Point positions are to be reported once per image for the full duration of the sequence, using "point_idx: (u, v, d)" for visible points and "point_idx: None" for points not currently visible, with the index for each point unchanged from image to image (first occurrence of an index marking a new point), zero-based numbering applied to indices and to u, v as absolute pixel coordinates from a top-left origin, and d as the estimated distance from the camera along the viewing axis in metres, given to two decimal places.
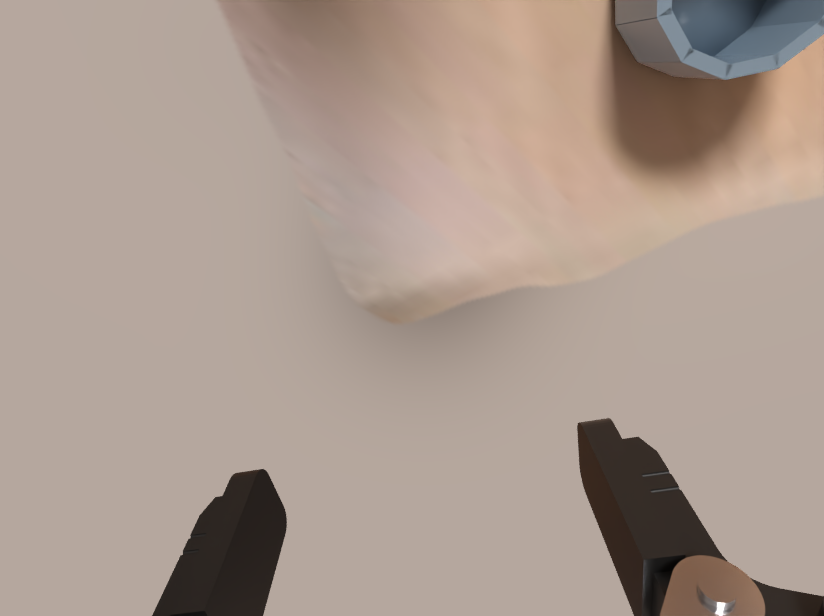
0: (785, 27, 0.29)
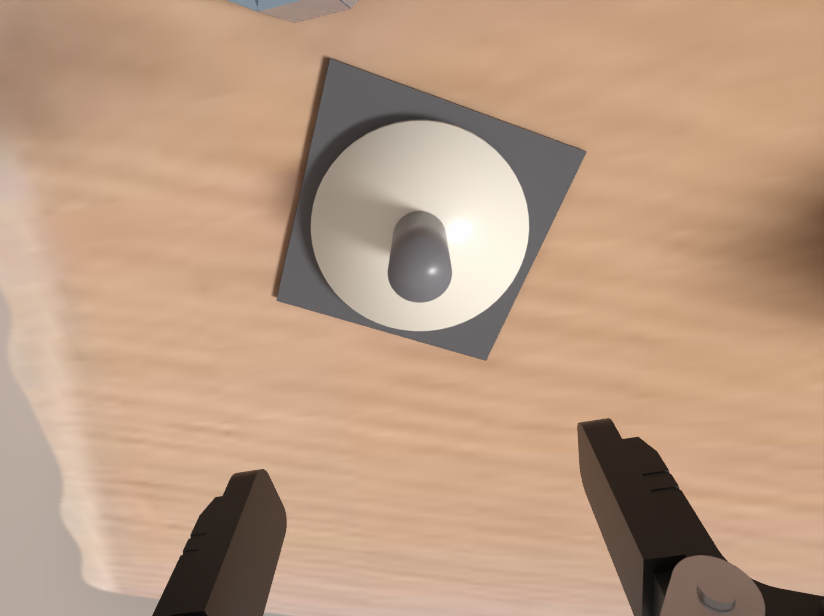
0: None
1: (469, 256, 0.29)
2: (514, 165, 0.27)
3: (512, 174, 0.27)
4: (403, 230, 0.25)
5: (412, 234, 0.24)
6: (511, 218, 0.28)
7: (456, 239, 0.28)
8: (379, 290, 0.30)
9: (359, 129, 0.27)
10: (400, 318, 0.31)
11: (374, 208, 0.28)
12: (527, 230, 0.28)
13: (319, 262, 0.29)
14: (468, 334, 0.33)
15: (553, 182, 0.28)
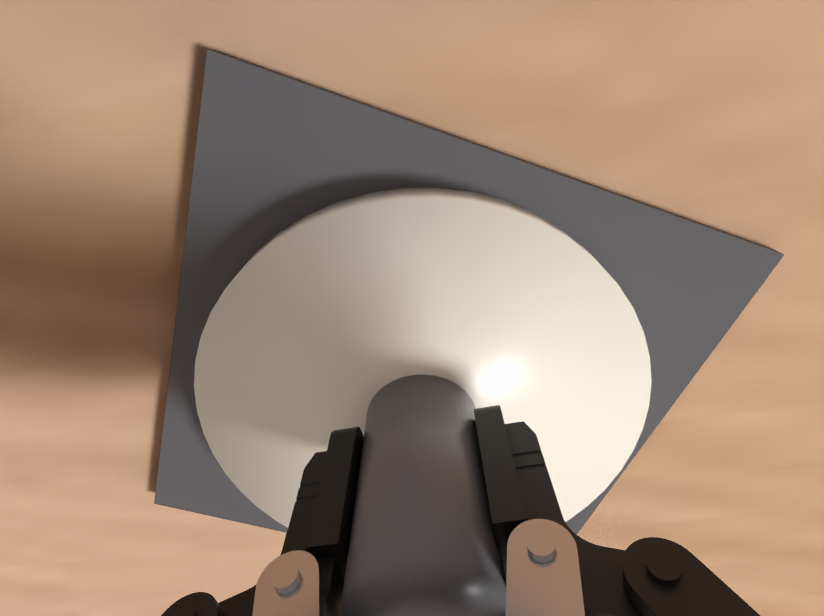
0: None
1: None
2: (624, 279, 0.13)
3: (626, 306, 0.12)
4: (385, 455, 0.11)
5: (404, 496, 0.09)
6: (614, 386, 0.13)
7: None
8: None
9: (288, 207, 0.12)
10: None
11: (326, 370, 0.13)
12: (645, 407, 0.14)
13: (221, 461, 0.15)
14: None
15: (702, 312, 0.13)
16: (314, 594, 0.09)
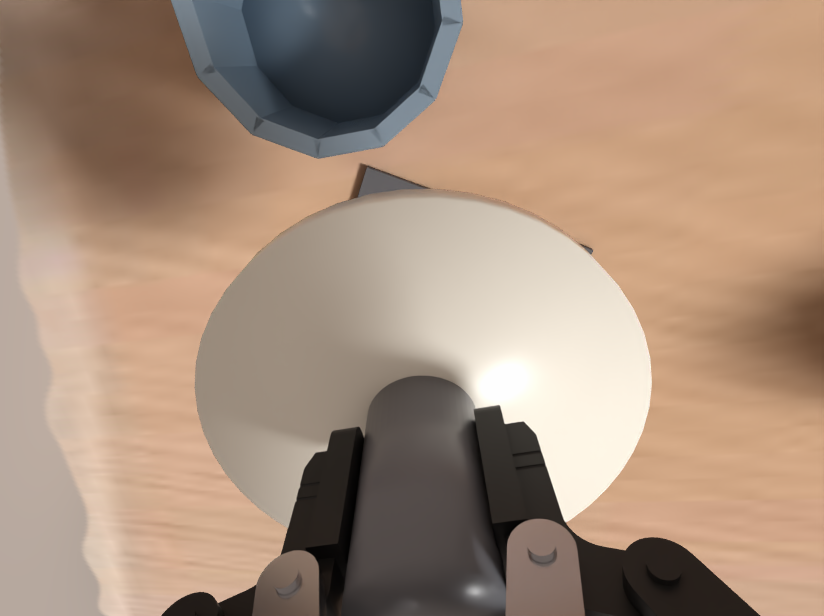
0: (230, 58, 0.21)
1: None
2: None
3: (627, 307, 0.12)
4: (385, 456, 0.11)
5: (405, 497, 0.09)
6: (615, 388, 0.13)
7: None
8: None
9: None
10: None
11: (326, 371, 0.13)
12: (645, 408, 0.14)
13: (222, 462, 0.15)
14: None
15: None
16: (314, 594, 0.09)
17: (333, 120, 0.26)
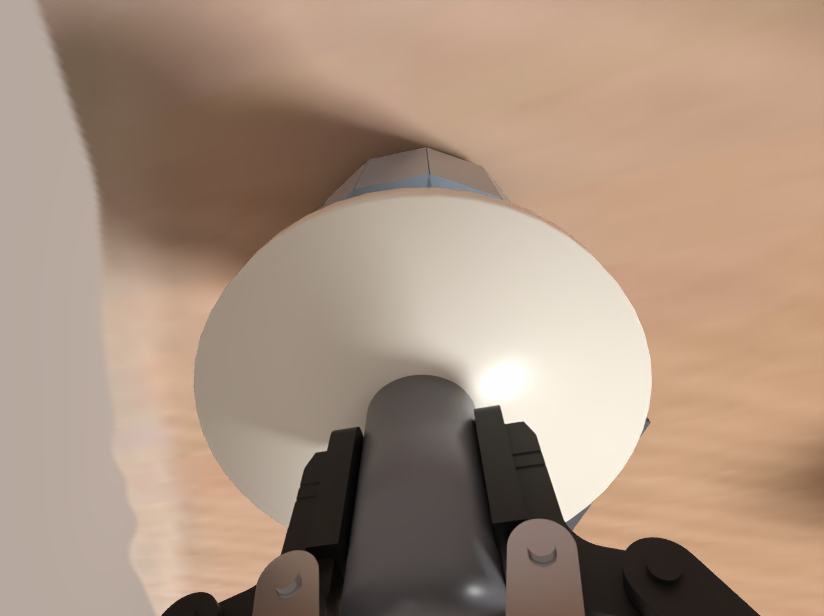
0: None
1: None
2: None
3: (627, 306, 0.12)
4: (385, 456, 0.11)
5: (404, 496, 0.09)
6: (614, 387, 0.13)
7: None
8: None
9: None
10: None
11: (325, 370, 0.13)
12: (645, 408, 0.14)
13: (221, 461, 0.15)
14: None
15: None
16: (314, 594, 0.09)
17: None
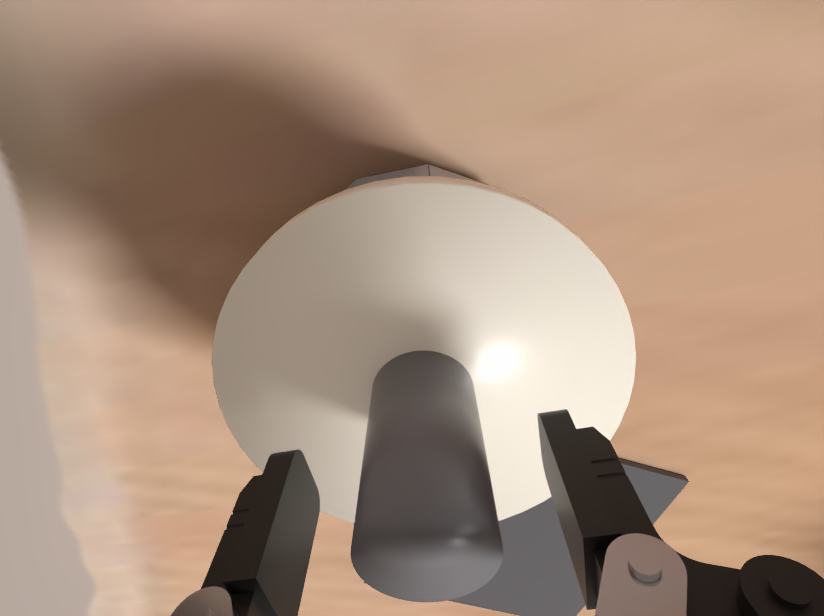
0: None
1: (516, 423, 0.15)
2: None
3: (612, 286, 0.13)
4: (389, 419, 0.12)
5: (407, 451, 0.11)
6: (602, 362, 0.14)
7: (493, 396, 0.15)
8: (349, 474, 0.16)
9: None
10: None
11: (334, 346, 0.14)
12: (631, 382, 0.15)
13: (236, 433, 0.16)
14: (553, 607, 0.33)
15: (652, 502, 0.28)
16: None
17: None
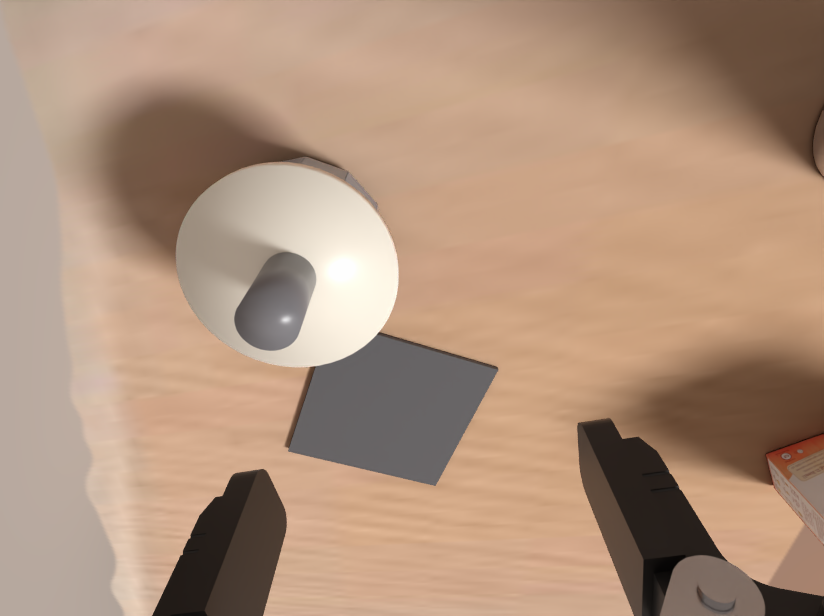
0: None
1: (341, 295, 0.29)
2: (451, 376, 0.41)
3: (375, 218, 0.27)
4: (260, 275, 0.25)
5: (262, 282, 0.24)
6: (379, 259, 0.28)
7: (327, 279, 0.28)
8: None
9: (348, 357, 0.40)
10: (278, 355, 0.31)
11: (240, 249, 0.27)
12: (396, 271, 0.28)
13: (189, 301, 0.29)
14: (422, 470, 0.47)
15: (477, 385, 0.42)
16: None
17: None
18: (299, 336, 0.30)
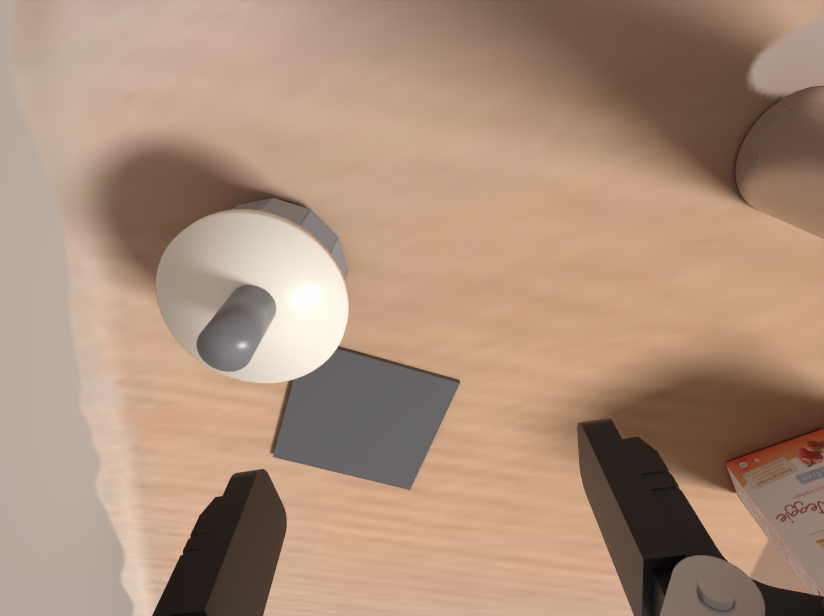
0: None
1: (299, 321, 0.33)
2: (417, 389, 0.45)
3: (323, 255, 0.31)
4: (222, 307, 0.30)
5: (221, 314, 0.28)
6: (329, 290, 0.32)
7: (285, 307, 0.33)
8: None
9: (322, 372, 0.44)
10: (248, 372, 0.35)
11: (209, 282, 0.32)
12: (345, 300, 0.32)
13: (169, 326, 0.33)
14: (397, 475, 0.50)
15: (441, 397, 0.46)
16: None
17: None
18: (265, 356, 0.34)
